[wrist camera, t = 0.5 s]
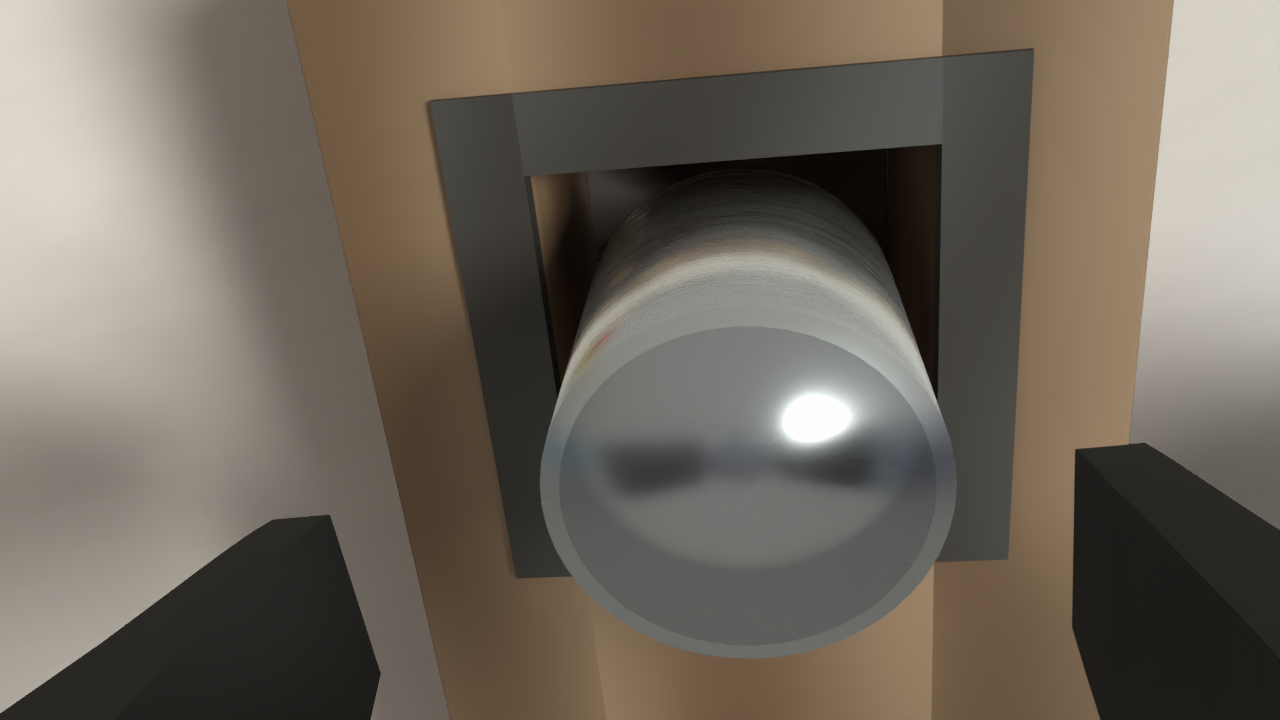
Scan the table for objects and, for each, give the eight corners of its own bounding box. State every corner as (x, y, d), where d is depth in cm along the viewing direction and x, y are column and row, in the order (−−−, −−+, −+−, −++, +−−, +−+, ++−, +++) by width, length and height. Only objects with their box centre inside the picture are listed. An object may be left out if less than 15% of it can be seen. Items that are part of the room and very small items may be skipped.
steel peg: (896, 155, 14) (962, 293, 10) (896, 441, 16) (953, 654, 12) (570, 181, 15) (510, 322, 11) (606, 456, 17) (567, 665, 12)
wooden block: (1064, -207, 16) (1199, -214, 11) (999, 933, 26) (1056, 1169, 22) (384, -133, 17) (257, -112, 12) (578, 935, 27) (548, 1160, 23)
